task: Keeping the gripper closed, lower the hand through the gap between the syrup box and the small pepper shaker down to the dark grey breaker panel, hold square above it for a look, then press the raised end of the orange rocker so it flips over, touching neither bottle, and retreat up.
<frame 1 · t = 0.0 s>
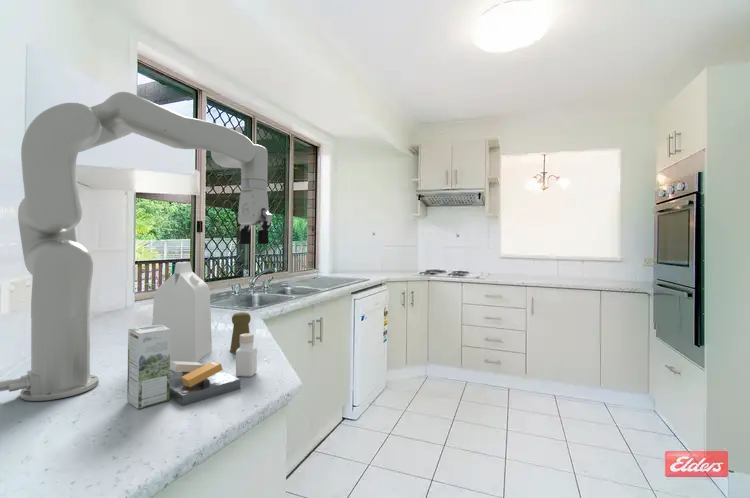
hand: (253, 244, 113), 31 cm above the countertop, tool pointing down, fingers open, 9 cm apart
pepper shaker: (241, 350, 110), on the countertop
milk: (182, 357, 103), on the countertop
rocker orange: (202, 373, 78), point 4 cm above the countertop, hinge at -15.0°
rocker white: (189, 366, 82), point 4 cm above the countertop, hinge at 15.0°
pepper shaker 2: (246, 375, 89), on the countertop
syrup box: (148, 402, 74), on the countertop
breaker panel: (195, 388, 80), on the countertop
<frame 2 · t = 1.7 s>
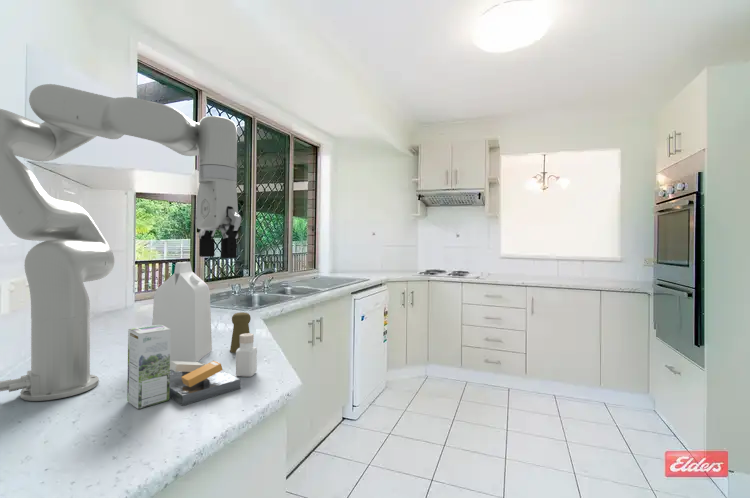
hand: (217, 257, 81), 28 cm above the countertop, tool pointing down, fingers open, 9 cm apart
nothing on the countertop moved.
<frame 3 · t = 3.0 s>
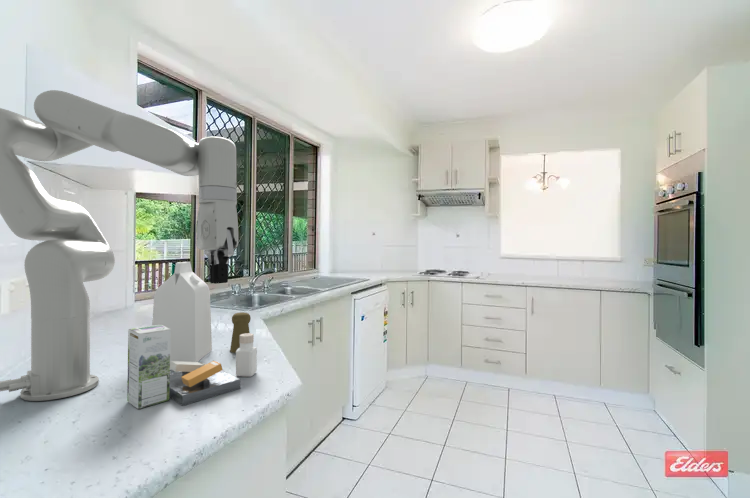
hand: (218, 282, 80), 23 cm above the countertop, tool pointing down, fingers closed
nothing on the countertop moved.
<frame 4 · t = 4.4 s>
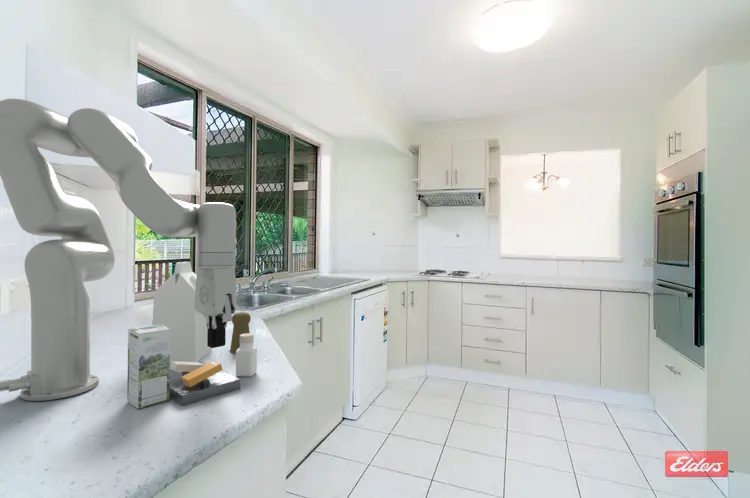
hand: (216, 346, 80), 9 cm above the countertop, tool pointing down, fingers closed
nothing on the countertop moved.
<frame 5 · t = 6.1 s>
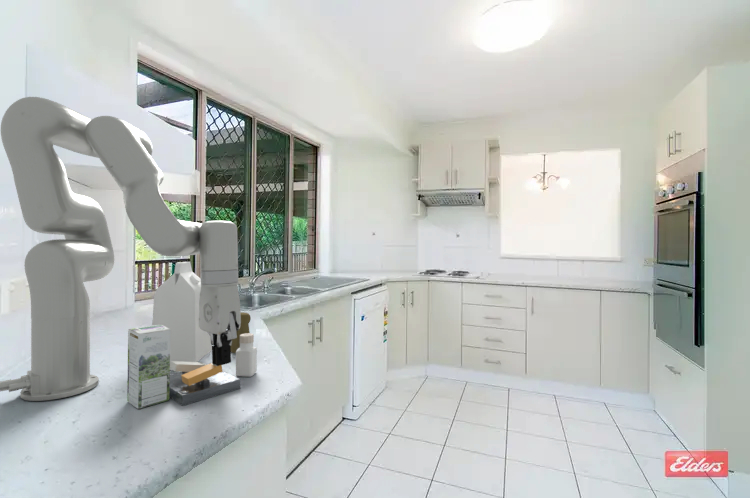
hand: (221, 363, 81), 5 cm above the countertop, tool pointing down, fingers closed
rocker orange: (202, 373, 78), point 4 cm above the countertop, hinge at -9.5°, touching gripper
everything else where it was.
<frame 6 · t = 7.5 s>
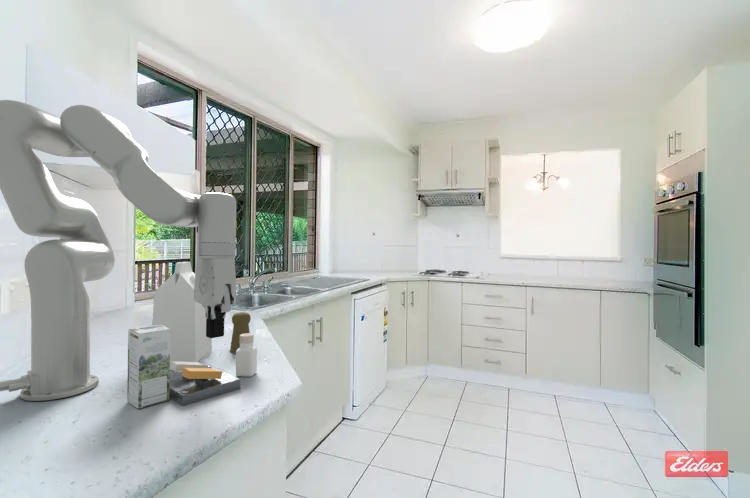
hand: (215, 336, 80), 11 cm above the countertop, tool pointing down, fingers closed
rocker orange: (202, 373, 78), point 4 cm above the countertop, hinge at 14.4°
everything else where it was.
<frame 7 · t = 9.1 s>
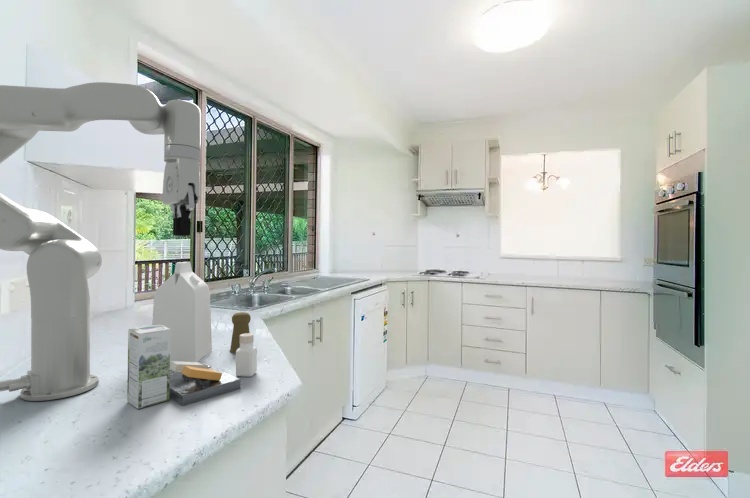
hand: (181, 235, 87), 33 cm above the countertop, tool pointing down, fingers closed
rocker orange: (202, 373, 78), point 4 cm above the countertop, hinge at 21.0°
everything else where it was.
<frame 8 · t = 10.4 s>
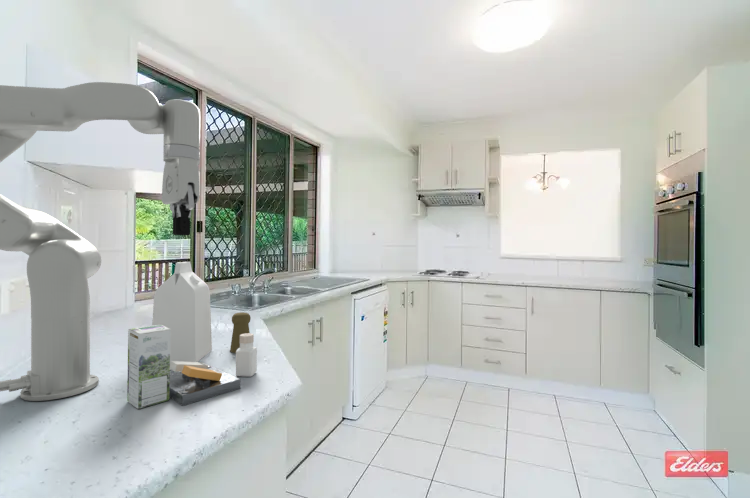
hand: (181, 234, 87), 33 cm above the countertop, tool pointing down, fingers closed
rocker orange: (202, 373, 78), point 4 cm above the countertop, hinge at 22.4°, touching breaker panel
everything else where it was.
at the end: rocker orange at +22° (first picture: -15°); syrup box moved 0.2 cm from its start; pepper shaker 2 moved 0.2 cm from its start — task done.
